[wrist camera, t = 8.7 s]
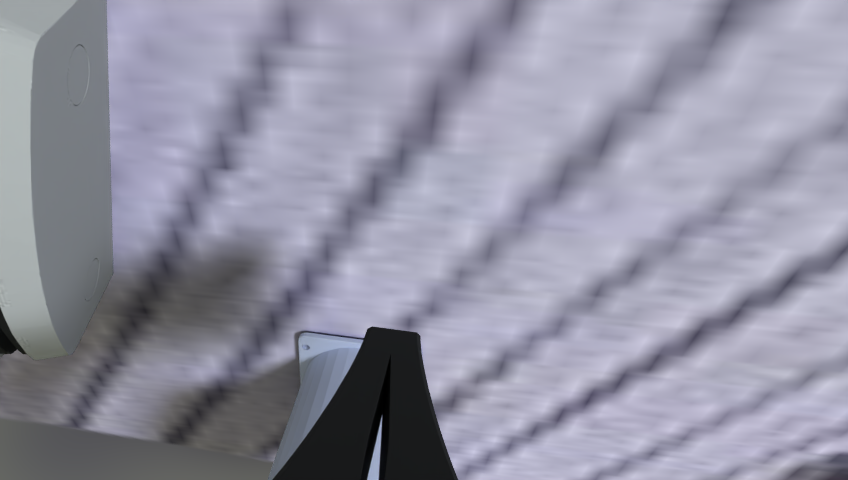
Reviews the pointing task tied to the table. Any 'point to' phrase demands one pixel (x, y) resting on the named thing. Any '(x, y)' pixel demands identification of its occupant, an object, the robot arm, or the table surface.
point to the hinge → (53, 173)
